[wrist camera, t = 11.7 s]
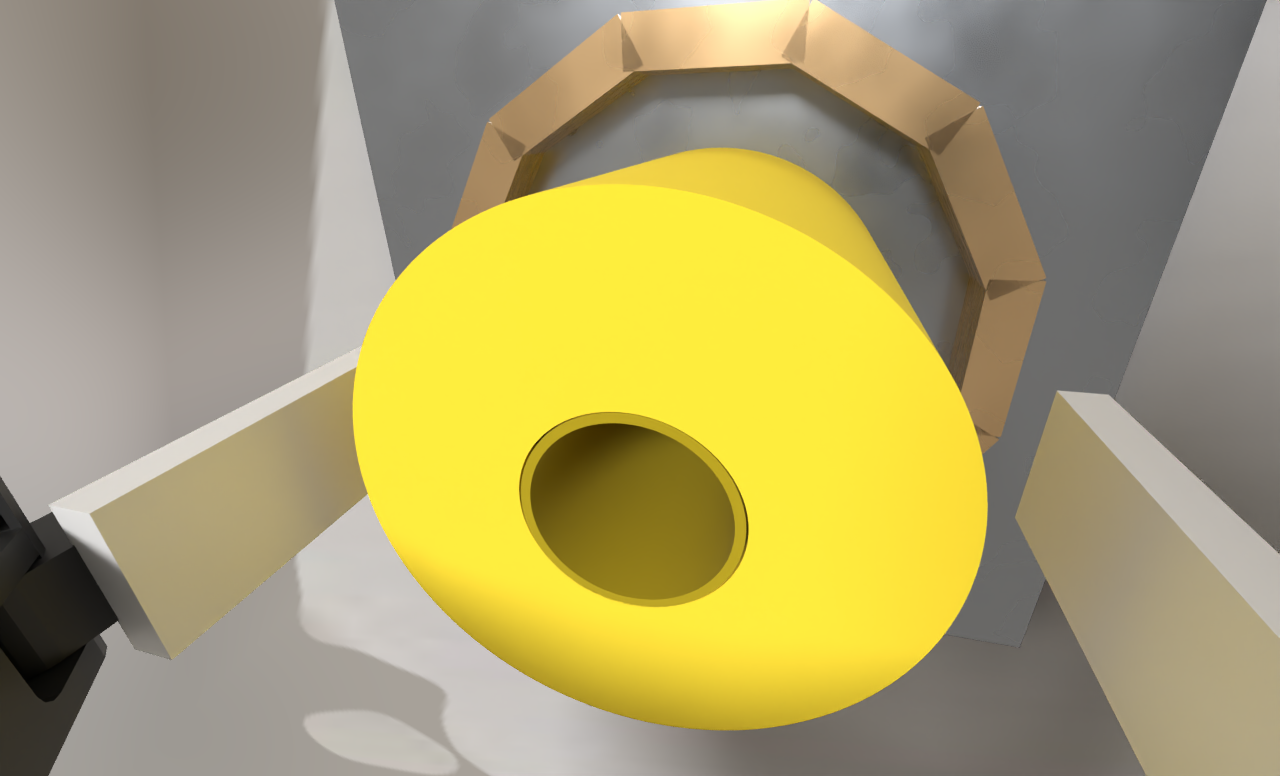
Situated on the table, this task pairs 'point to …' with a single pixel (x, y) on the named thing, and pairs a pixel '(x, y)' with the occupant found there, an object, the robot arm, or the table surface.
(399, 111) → the ring collar plate
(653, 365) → the tape roll
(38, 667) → the robot arm
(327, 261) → the table surface
